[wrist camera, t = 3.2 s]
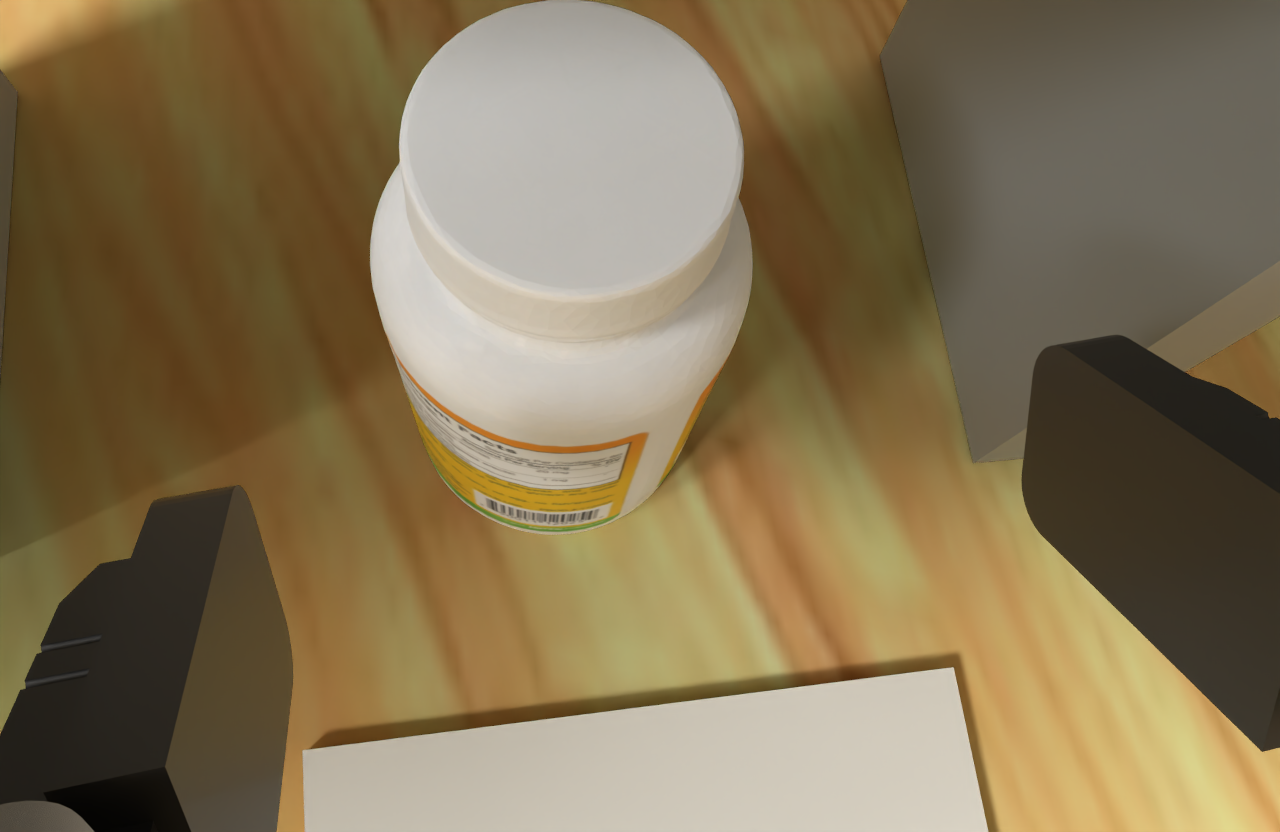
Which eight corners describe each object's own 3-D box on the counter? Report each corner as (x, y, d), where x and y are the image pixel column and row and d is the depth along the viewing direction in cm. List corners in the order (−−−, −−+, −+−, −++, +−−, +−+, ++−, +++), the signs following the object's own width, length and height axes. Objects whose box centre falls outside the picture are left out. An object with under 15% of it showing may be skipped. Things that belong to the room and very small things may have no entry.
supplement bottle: (583, 241, 22) (624, -121, 13) (738, 439, 21) (901, 197, 12) (364, 375, 21) (238, 74, 12) (519, 595, 20) (513, 454, 11)
